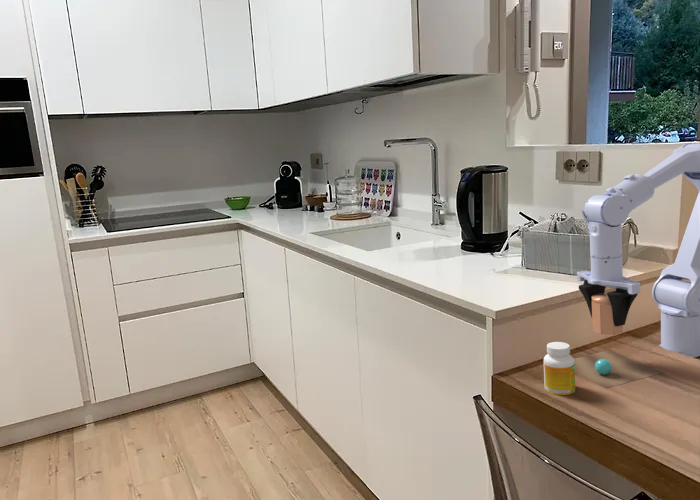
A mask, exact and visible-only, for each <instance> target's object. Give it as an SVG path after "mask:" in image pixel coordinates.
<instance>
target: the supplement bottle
mask: <svg viewBox="0 0 700 500" xmlns="http://www.w3.org/2000/svg"><path fill="white" fill-rule="evenodd" d="M546 353H547V354H545V356H544V357H543V381H544V383H543V384H544V390H545V391H546V392H548V393H549V394H552V395H558V396H566V395H572V394H574V393H575V392H576V373H575V363H574V357H573V355H571V346H570V344H568V343H566V342H565V341H564V342H562V341H553V342H548V343H547V344H546Z"/></svg>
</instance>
